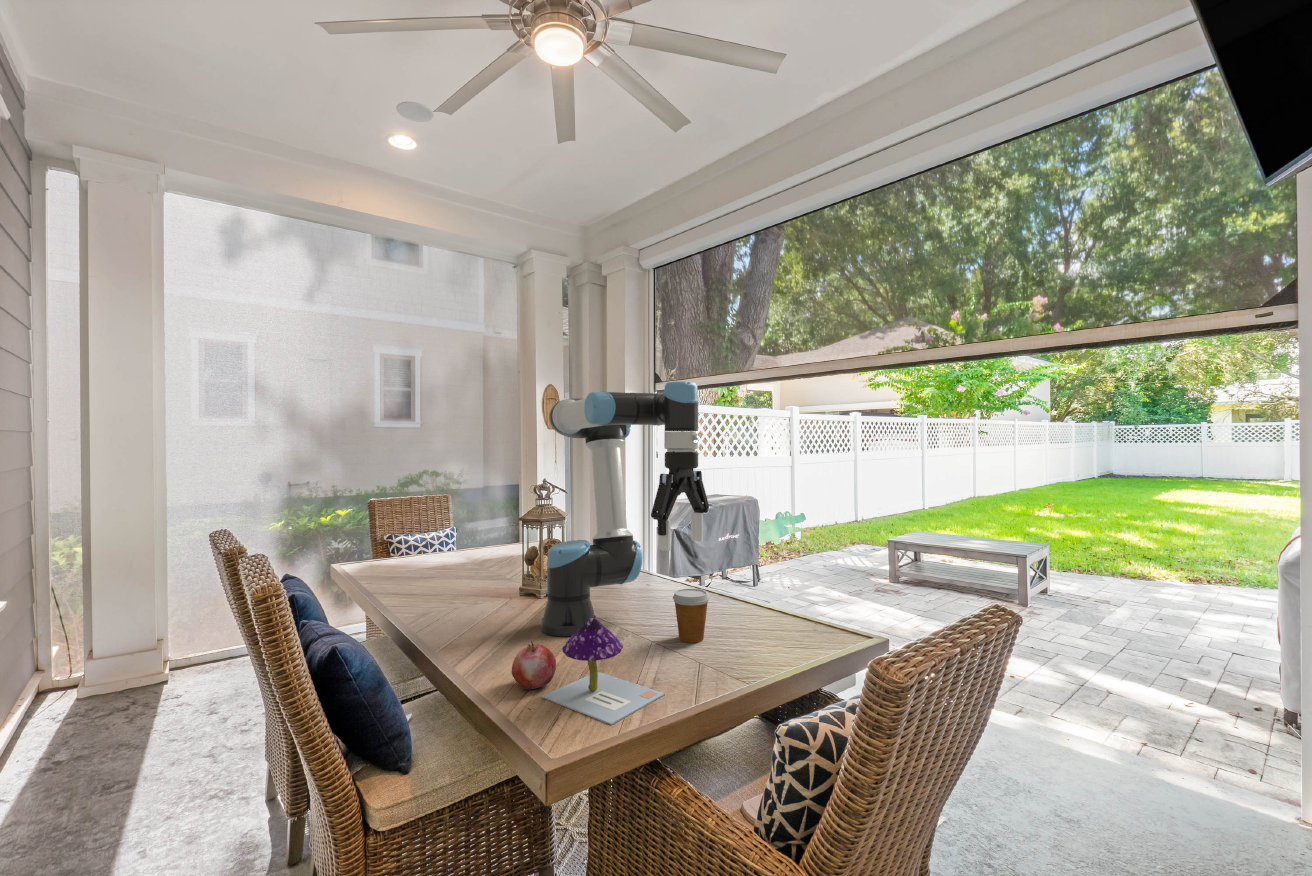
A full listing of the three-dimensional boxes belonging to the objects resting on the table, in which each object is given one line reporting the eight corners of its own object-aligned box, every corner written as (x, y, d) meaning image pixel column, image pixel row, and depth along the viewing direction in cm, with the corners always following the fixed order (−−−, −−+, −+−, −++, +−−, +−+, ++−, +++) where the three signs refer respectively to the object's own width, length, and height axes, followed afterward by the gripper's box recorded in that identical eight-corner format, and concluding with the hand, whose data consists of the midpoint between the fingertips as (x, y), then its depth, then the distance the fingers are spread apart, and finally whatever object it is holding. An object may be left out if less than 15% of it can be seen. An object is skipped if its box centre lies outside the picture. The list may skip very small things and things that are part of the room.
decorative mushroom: (577, 675, 130) (577, 607, 130) (631, 682, 127) (631, 611, 127) (551, 700, 118) (551, 624, 118) (610, 708, 115) (610, 630, 115)
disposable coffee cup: (707, 646, 149) (707, 598, 149) (670, 643, 151) (669, 596, 151) (711, 633, 158) (711, 588, 158) (676, 631, 160) (676, 587, 160)
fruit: (539, 673, 133) (539, 628, 133) (564, 685, 126) (564, 638, 126) (503, 685, 126) (502, 638, 126) (527, 699, 120) (527, 649, 120)
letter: (542, 697, 120) (542, 695, 120) (597, 672, 133) (597, 670, 133) (611, 725, 108) (611, 722, 108) (664, 694, 121) (664, 692, 121)
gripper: (663, 452, 121) (663, 556, 121) (723, 449, 142) (723, 538, 142) (634, 452, 126) (634, 552, 126) (696, 449, 146) (696, 535, 146)
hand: (681, 545), depth 134 cm, fingers open, 13 cm apart
